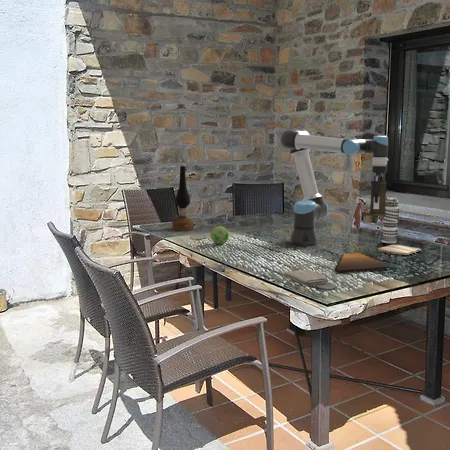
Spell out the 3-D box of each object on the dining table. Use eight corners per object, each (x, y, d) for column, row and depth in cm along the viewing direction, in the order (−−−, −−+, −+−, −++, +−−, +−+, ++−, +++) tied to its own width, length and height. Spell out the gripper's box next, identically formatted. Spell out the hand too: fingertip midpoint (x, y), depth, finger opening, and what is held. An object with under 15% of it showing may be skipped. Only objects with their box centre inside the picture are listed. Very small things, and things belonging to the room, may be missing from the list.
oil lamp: (197, 234, 360) (210, 171, 356) (182, 233, 347) (196, 168, 343) (179, 229, 367) (192, 168, 363) (165, 228, 354) (178, 165, 350)
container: (381, 216, 300) (382, 182, 297) (365, 214, 306) (367, 181, 303) (389, 214, 307) (390, 181, 304) (374, 213, 313) (375, 180, 310)
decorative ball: (226, 246, 308) (227, 228, 306) (208, 245, 310) (208, 227, 308) (230, 242, 318) (230, 225, 316) (212, 242, 320) (212, 224, 318)
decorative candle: (394, 244, 319) (397, 199, 315) (378, 242, 324) (381, 198, 320) (399, 241, 327) (402, 198, 322) (383, 239, 332) (385, 196, 327)
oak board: (405, 256, 289) (405, 253, 289) (377, 251, 300) (377, 248, 300) (420, 251, 300) (421, 248, 300) (393, 246, 311) (393, 244, 311)
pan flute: (338, 274, 254) (387, 271, 262) (338, 267, 254) (387, 263, 261) (313, 261, 278) (358, 258, 285) (313, 255, 277) (359, 252, 284)
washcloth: (306, 287, 233) (306, 280, 233) (282, 277, 249) (283, 270, 249) (329, 284, 239) (330, 277, 238) (305, 274, 254) (306, 267, 254)
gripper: (383, 166, 291) (381, 210, 295) (390, 164, 310) (388, 206, 313) (368, 166, 294) (366, 209, 298) (376, 164, 313) (374, 205, 317)
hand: (377, 207), depth 306 cm, fingers closed on container, 8 cm apart
